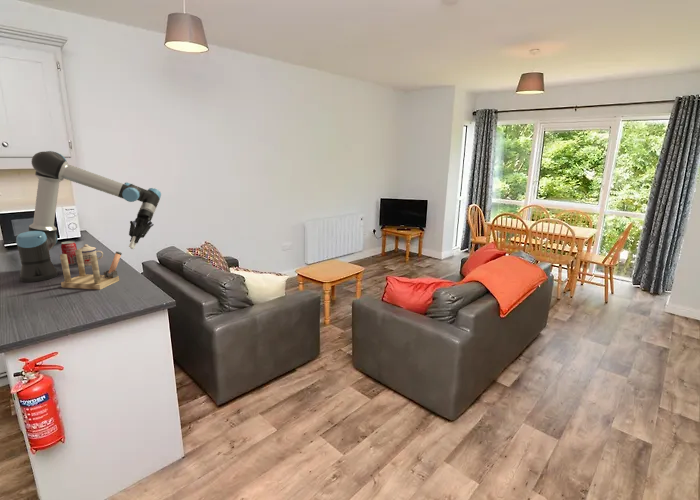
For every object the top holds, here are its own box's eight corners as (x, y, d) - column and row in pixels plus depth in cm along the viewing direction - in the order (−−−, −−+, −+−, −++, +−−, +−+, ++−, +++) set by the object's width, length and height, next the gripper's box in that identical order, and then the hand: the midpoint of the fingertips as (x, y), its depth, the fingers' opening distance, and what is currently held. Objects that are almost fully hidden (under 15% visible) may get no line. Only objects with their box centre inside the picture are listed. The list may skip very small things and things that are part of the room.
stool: (61, 287, 180) (55, 255, 176) (82, 278, 192) (77, 248, 188) (100, 289, 178) (95, 257, 174) (119, 280, 190) (114, 250, 186)
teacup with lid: (79, 267, 210) (75, 247, 207) (79, 263, 217) (76, 244, 214) (104, 264, 217) (101, 244, 214) (104, 260, 224) (101, 241, 221)
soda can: (82, 262, 219) (78, 241, 216) (72, 265, 212) (68, 243, 209) (71, 261, 220) (67, 240, 217) (61, 265, 213) (56, 243, 210)
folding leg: (105, 275, 186) (114, 251, 192) (109, 277, 188) (118, 253, 194) (110, 275, 186) (119, 251, 191) (114, 277, 188) (123, 253, 194)
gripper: (160, 216, 216) (146, 251, 204) (139, 215, 217) (123, 250, 205) (153, 208, 209) (139, 244, 197) (132, 208, 210) (115, 243, 198)
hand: (131, 247), depth 201 cm, fingers closed
